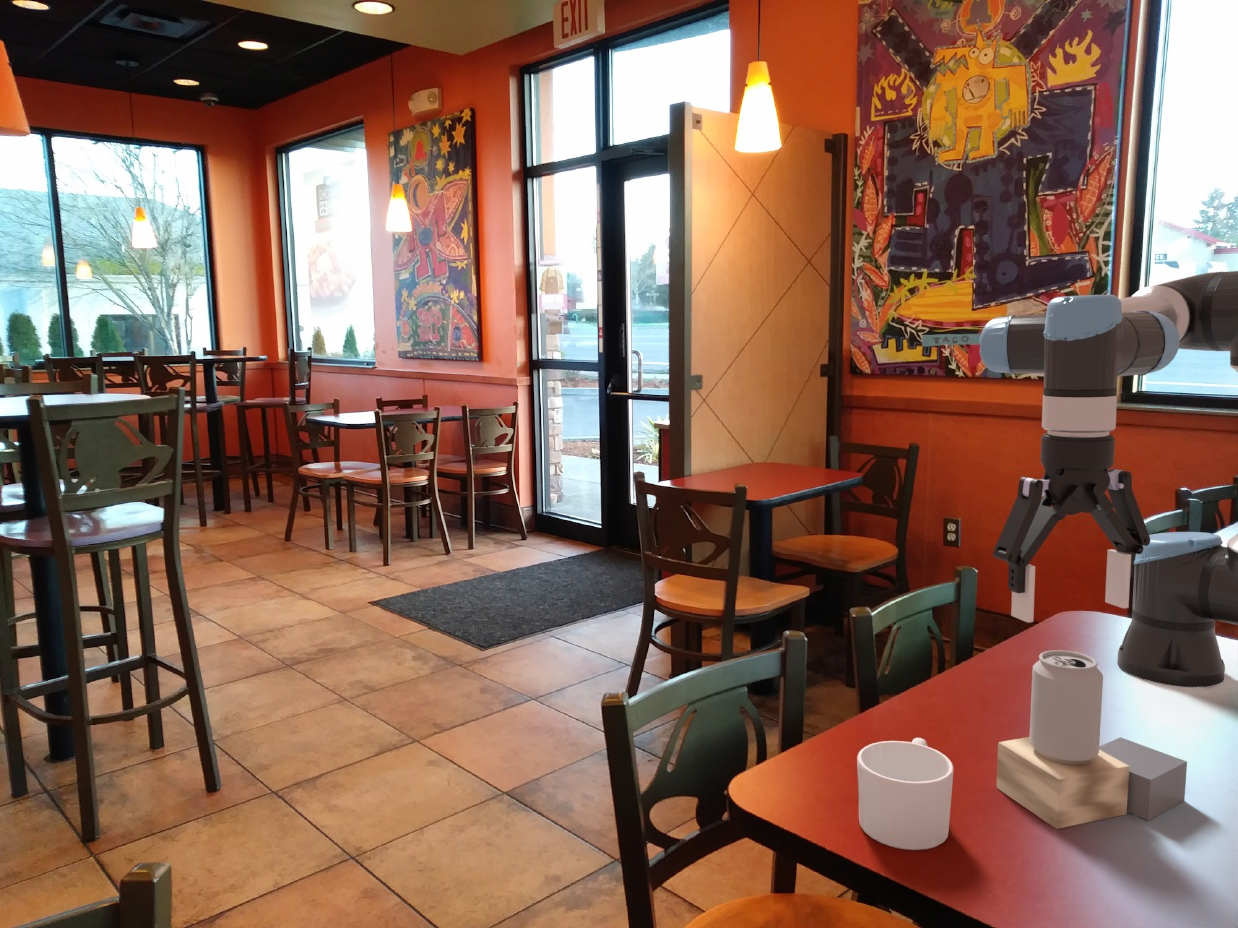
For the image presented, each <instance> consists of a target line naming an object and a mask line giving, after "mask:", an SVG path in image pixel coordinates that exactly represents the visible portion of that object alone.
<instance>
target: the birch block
mask: <svg viewBox="0 0 1238 928" xmlns="http://www.w3.org/2000/svg"><path fill="white" fill-rule="evenodd" d="M1029 738H1030V736H1027V737H1020V738H1015V739H1009V740H1003V741H999V742H997V762H996V763H997V764H996V765H997V767H996V787H995V788H996V789H998V790H999V791H1000V792H1002V793H1003V794H1004V795H1006V796H1008V797H1010V798H1011V799H1012V800H1014V801H1015V802H1017V803H1018V804H1019V805H1021V806H1022V807H1024V808H1026V809H1027V810H1028V811H1030V812H1031V813H1033V814H1034V815H1036V816H1037V817H1038V818H1040V819H1041V820H1043V821H1044V822H1046V823H1047V824H1049V825H1050V826H1051V827H1053V829H1056V830H1057V829H1058V830H1059V829H1063V828H1067V827H1072V826H1077V825H1082V824H1087V823H1091V822H1095V821H1100V820H1106V819H1110V818H1114V817H1119V816H1120V817H1121V816H1124V815H1127V813H1128V812H1127V798H1128V781H1129V765H1127V764H1125V763H1123V762H1121V761H1119V760H1118V759H1116V758H1114V757H1112V756H1110V755H1108V754H1106V753H1105V752H1103V751H1101V750H1099V753H1098V755H1097V757H1095V758H1093V759H1091V760H1090V761H1089V762H1087V763H1084V764H1063V763H1058V762H1054V761H1051V760H1049V759H1046V758H1044V757H1043V756H1041V755H1040V754H1039V753H1038V752H1037V751H1036V750H1035V749H1034V748H1033V747H1032V746H1031V744H1030V740H1029Z"/></svg>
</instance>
